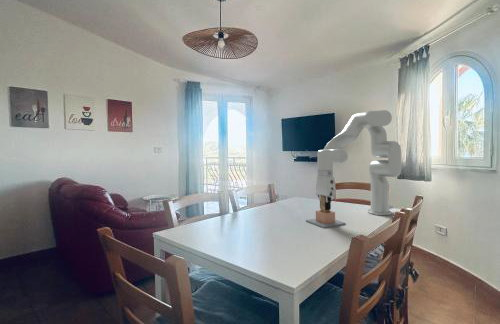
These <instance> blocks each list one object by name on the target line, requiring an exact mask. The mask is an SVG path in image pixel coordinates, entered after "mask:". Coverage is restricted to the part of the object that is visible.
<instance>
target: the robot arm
mask: <svg viewBox="0 0 500 324" xmlns="http://www.w3.org/2000/svg"><path fill="white" fill-rule="evenodd" d="M392 120H393V115H392V113H391V112H390V111H388V110H387V109H385V110H384V109H383V110H382V109H381V110H369V111H362V112H357V113H354V114H353V115H352V116H351V117H350V119H349V120H348V122H347V124H346V125H345V126H344V128H343V129H342V131H341V132H339V133H338V134H337V135H336V136H334V137H333V138H331V140H330V141H328V142H327V143H326V145H325V146H324V148H323V149H319V150H318V151H317V154H316V155H317V158H316V159H317V160H316V161H317V177H316V181H315V183H316V186H315V189H316V190H315V192H316V193H315V195H316V196H317V197H318V200H319V209H321V196H320V195H324V196H326V202H325V210H330V211H331V209H332V205H331V203H333V202H332V201H333V200H334V199H336V191H337V189H336V181H335V178H334V177H335V176H333V175H334V172H333V171H334V170H333V169H334V168H333V165H334V164H343V163H345V162H346V161H348V157H349V155H348V152H347V150H344V149H341V148H342V147H344V146H347V145H349V144H352V143H354V142H355V141H356V140H357V139H358V137H359V136H360V134H361V132H362V130H363V129H366V130H368V132H369V135H370V152H371V155H372V157H373V158H376V159H375V160H372V161H371V162H370V163H369V164H368V171H369V176H370V209H368V210H367V213H369V214H370V215H376V216H389V215H390V216H391V215H392V211H391V209H394V206H393V205H389V203H390V201H389V199H390V198H389V194H390V193H389V190H390V189H389V187H390V186H389V181H388V179H387V178H398V177H399V176H400V175H401V172H402V169H403V168H402V167H403V166H402V162H403V161H402V147H401V145H400V143H399V142H397V141H395V140H388V138H387V131H386V129H385V128H384V127H385V126H388V125H390V123H391V122H392ZM377 158H380V159H377ZM383 158H385V159H383ZM328 197H329V198H328Z"/></svg>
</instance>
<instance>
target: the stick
mask: <svg viewBox="0 0 500 324" xmlns="http://www.w3.org/2000/svg"><path fill="white" fill-rule="evenodd" d="M320 196H321V208H320V210H321V212H323V213H329V212H330V211H331V209H330V210H325V202H326V196H324V195H320ZM328 198H329V197H328Z"/></svg>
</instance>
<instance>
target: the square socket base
mask: <svg viewBox="0 0 500 324" xmlns="http://www.w3.org/2000/svg"><path fill="white" fill-rule="evenodd" d="M305 222H306V223H309V224H311V225H314V226H317V227H318V228H319V227H320V228H322V229H327V228H333V227H338V226H344V225H346V224H347V223H346V222H344V221H340V220H338V219H336V211H332V210H330V212H329V213H323V212H321V209H320V210H315V218H311V219H306V220H305Z"/></svg>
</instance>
